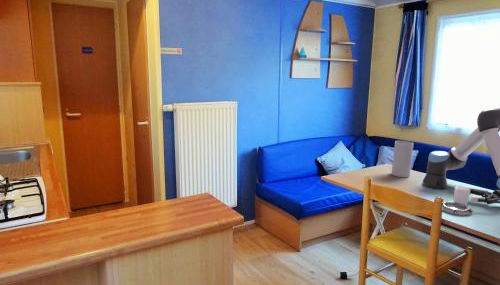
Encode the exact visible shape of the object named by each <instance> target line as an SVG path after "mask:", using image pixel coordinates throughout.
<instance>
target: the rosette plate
mask: <svg viewBox="0 0 500 285" xmlns="http://www.w3.org/2000/svg"><path fill="white" fill-rule="evenodd" d="M443 202H444V205H443V211H442V212H443V213H446V214H449V215H454V216H458V217H469V216H471V215H472V212H474V210H472V209H471V208H470V207H469V206H468V205H464V204H461V203H457V202H454V201H449V200H447V201H443Z"/></svg>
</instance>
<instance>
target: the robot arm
mask: <svg viewBox="0 0 500 285" xmlns="http://www.w3.org/2000/svg"><path fill="white" fill-rule="evenodd" d="M476 120H477V121H476V123H477V127H476V128H475V129H474V130H473V131H472V132H471V133H470V134H468V135H467V137H466V138H465V139H464V140H463V141H461V142H460V143H459V144H458V145H457V146H456V147H452V148H451V149H450V150H448V151H444V150H434V151H431V152H430V153H429V155H428V160H427V167H426V174H425V175H424V177H423V179H422V182H421V184H422V186H425V187H427V188H429V189H434V190H436V189H437V190H445V189H447V188H448V181H447V176H446V175H447V171H450V170H458V169H462V168H464V166H465V165H466V163H467V160H468V156H469V155H471V154H472V153H473V152H474V151H475V150H476V149H477V148H478V147H479V146H480V145H482V144H483V143H484V142H485V145H486V147H487V148H486V149H487V150H488V153H489V156H490V158H491V161H492V164H493V166H494V169H495V171H496V172H495V173H496V175H497V178H498V179H497V180H496V186H497V188H498V189H495V190H493V191H492V192H491V191H489V190H484V189H478V188H471V187H468V188H469V189H470V193H469V196H470V195H475V197H474V196H471V199H470V202H471V203H485V204H487V205H492V204H500V133H499V132H500V107H498V108H495V107H494V108H492V107H491V108H485V109H483V110H482V111H481V112H479V114H478V116H477V119H476Z"/></svg>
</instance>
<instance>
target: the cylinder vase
mask: <svg viewBox="0 0 500 285" xmlns="http://www.w3.org/2000/svg"><path fill="white" fill-rule="evenodd" d="M393 148H394V149H393V157H392V164H391V165H392V166H391V175H392V176H395V177H397V178H398V177H399V178H408V177H410V175H411V167H412V166H411V165H412V158H413V152H414V151H413V150H414V142H412V141H407V140H395V142H394V147H393Z"/></svg>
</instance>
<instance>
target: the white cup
mask: <svg viewBox="0 0 500 285" xmlns="http://www.w3.org/2000/svg"><path fill="white" fill-rule="evenodd" d="M469 188H470V187H467V186H462V185H455V186H454V191H453V202H457V203H461V204H464V205H466V206H468V205H467V204H468V200H469V196H470V195H469V193H470V189H469Z"/></svg>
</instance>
